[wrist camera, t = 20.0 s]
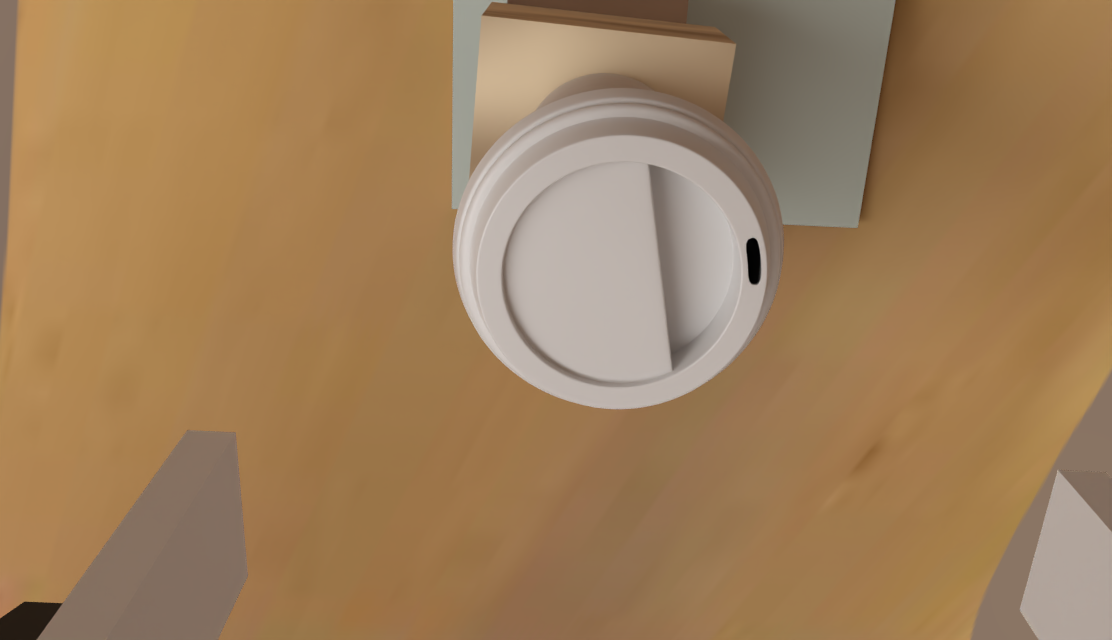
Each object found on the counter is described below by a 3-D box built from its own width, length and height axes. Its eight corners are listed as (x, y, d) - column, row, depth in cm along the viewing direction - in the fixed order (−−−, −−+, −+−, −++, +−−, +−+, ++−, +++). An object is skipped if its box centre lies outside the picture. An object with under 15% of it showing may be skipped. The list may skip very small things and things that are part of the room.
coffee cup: (682, 286, 43) (736, 466, 29) (464, 235, 43) (414, 394, 29) (751, 66, 40) (850, 152, 26) (514, 5, 39) (486, 60, 25)
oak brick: (492, 1, 45) (481, 15, 39) (715, 26, 45) (736, 44, 39) (474, 217, 48) (462, 258, 43) (680, 239, 49) (695, 282, 43)
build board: (456, -48, 51) (453, -47, 50) (892, -27, 51) (899, -25, 50) (454, 202, 56) (451, 208, 55) (851, 221, 56) (857, 227, 55)
